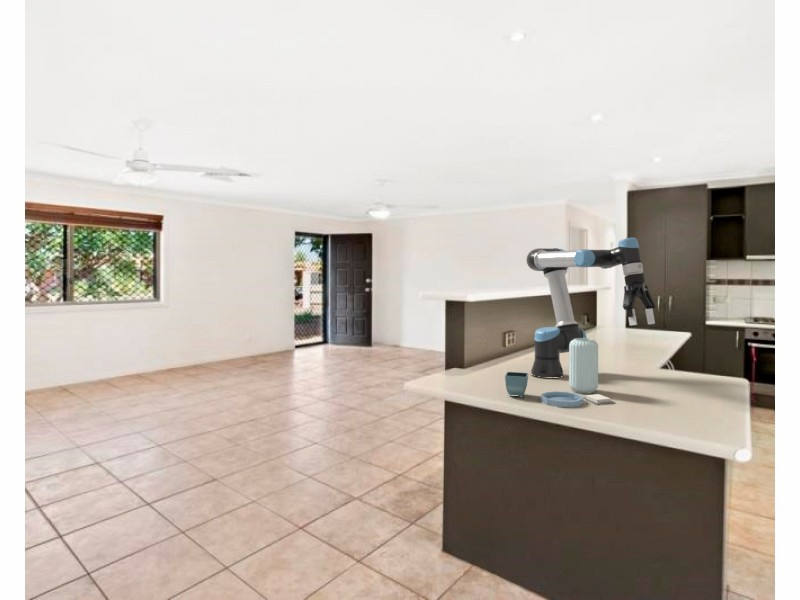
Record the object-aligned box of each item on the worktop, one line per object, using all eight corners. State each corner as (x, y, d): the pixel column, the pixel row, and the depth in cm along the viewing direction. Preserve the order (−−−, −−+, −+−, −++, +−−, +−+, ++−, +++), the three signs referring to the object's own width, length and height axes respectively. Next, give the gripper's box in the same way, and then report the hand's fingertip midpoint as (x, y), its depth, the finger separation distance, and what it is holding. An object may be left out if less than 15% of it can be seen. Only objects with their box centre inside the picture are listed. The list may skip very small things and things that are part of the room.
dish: (534, 398, 192) (534, 393, 191) (567, 395, 195) (567, 390, 195) (555, 408, 177) (555, 402, 177) (591, 405, 180) (591, 399, 180)
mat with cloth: (581, 398, 190) (581, 394, 190) (598, 396, 192) (598, 393, 192) (597, 405, 181) (597, 401, 181) (615, 403, 183) (615, 399, 182)
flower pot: (528, 393, 199) (528, 372, 199) (527, 399, 191) (526, 377, 191) (507, 392, 202) (507, 371, 202) (504, 397, 194) (504, 375, 194)
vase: (584, 395, 194) (584, 342, 193) (563, 390, 204) (563, 338, 203) (604, 392, 199) (604, 339, 198) (582, 386, 210) (582, 336, 208)
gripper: (625, 271, 190) (634, 324, 187) (658, 273, 204) (667, 322, 201) (608, 275, 196) (616, 326, 193) (641, 277, 210) (650, 324, 207)
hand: (642, 324), depth 197 cm, fingers open, 13 cm apart
